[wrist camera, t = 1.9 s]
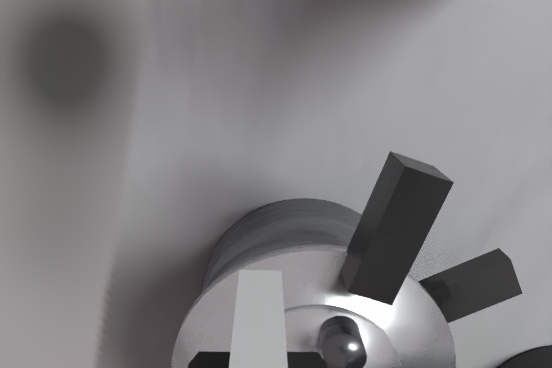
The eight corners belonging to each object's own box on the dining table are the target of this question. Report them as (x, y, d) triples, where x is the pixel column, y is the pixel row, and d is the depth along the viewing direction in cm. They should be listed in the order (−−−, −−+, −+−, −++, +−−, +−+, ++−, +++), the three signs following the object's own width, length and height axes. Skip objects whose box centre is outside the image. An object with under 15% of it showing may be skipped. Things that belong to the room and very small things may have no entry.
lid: (372, 510, 36) (384, 566, 32) (137, 455, 34) (121, 509, 30) (551, 205, 28) (596, 232, 24) (253, 102, 25) (251, 115, 21)
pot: (242, 400, 45) (235, 497, 36) (147, 255, 40) (110, 325, 30) (490, 301, 42) (555, 379, 32) (425, 128, 36) (480, 162, 27)
